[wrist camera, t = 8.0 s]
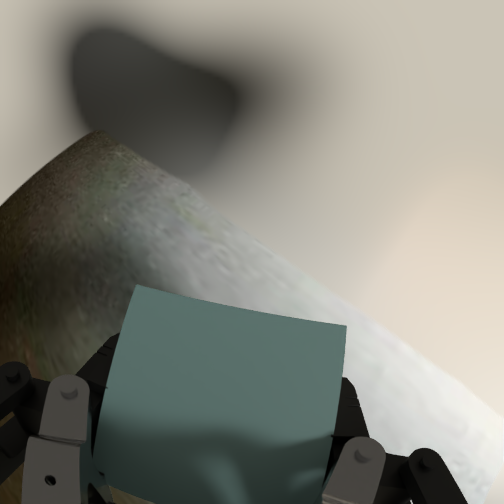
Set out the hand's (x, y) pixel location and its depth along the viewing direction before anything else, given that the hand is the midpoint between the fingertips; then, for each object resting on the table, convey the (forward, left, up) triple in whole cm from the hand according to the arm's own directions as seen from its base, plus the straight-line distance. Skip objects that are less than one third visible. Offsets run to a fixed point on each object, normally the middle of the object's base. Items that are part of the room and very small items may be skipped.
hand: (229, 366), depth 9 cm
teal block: (0, -2, -7) cm, 7 cm away
